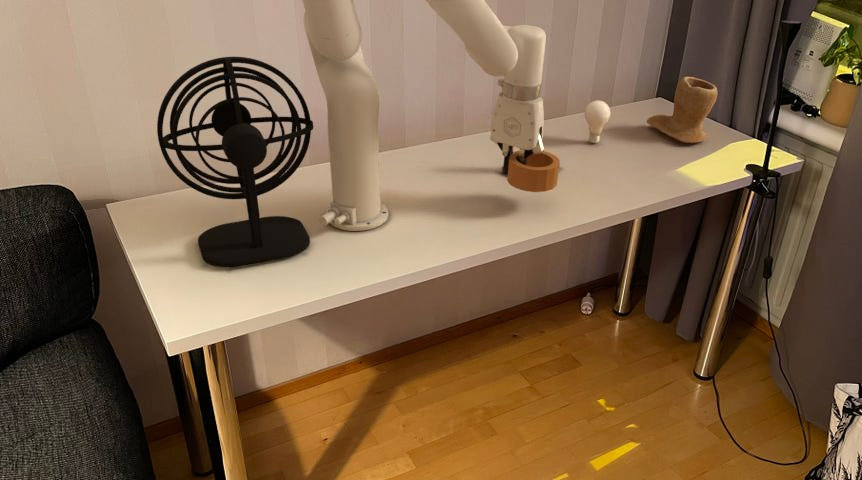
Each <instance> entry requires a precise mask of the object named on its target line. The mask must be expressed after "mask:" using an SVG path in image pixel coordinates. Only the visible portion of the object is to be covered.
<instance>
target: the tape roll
mask: <svg viewBox="0 0 862 480" xmlns="http://www.w3.org/2000/svg"><path fill="white" fill-rule="evenodd" d="M518 156H519V150H515V151H513V153H512V154H510V157H509V166H508V175H507V183H508V184H509V185H510V186H511V187H513V188H515V189H518V190H521V191H524V192H529V193H543V192H548V191H551V190H554V189H555V188H556V187H557V186H558V179H559V169H560V165H559V162H560V159H559V158H558V157H557V155H555V154H553V153H551V152H549V151H545V150H544V151H543V152H542V153H541V154H533V155H530V156H529V157H527V160H526V165H523V164H521V163H519V162H518V161H517V159H518Z"/></svg>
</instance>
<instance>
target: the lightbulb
mask: <svg viewBox="0 0 862 480" xmlns="http://www.w3.org/2000/svg"><path fill="white" fill-rule="evenodd" d="M611 115H612V114H611V108H610V106H609V104H607V102H605V101H603V100H599V99H597V100H593V101H590V102H589V103H588V104H587V105H586V107H585V109H584V118H585V121H586V123H587V125H588V131H589V136H588V141H589V142H590V143H591V144H597V143H599V142H600V139H601V134H602V131H603V129H604V127H605V125H606V124H607V123H608V121H609V120H610V118H611Z"/></svg>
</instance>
